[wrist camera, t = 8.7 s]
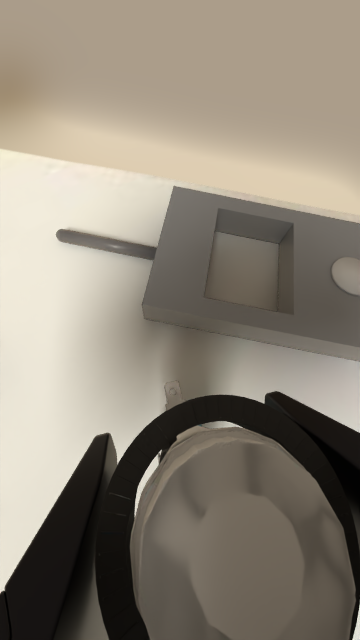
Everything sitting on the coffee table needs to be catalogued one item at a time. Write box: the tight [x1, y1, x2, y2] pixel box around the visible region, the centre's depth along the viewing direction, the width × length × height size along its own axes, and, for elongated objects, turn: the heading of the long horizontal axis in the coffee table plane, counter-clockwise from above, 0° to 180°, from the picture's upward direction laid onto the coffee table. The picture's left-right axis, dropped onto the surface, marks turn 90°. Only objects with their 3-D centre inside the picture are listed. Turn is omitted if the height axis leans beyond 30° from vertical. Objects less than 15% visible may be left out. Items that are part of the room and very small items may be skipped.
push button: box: [95, 381, 360, 640], centre depth 9 cm, size 7×5×10 cm
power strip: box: [56, 186, 360, 361], centre depth 18 cm, size 30×11×3 cm, turn 80°
